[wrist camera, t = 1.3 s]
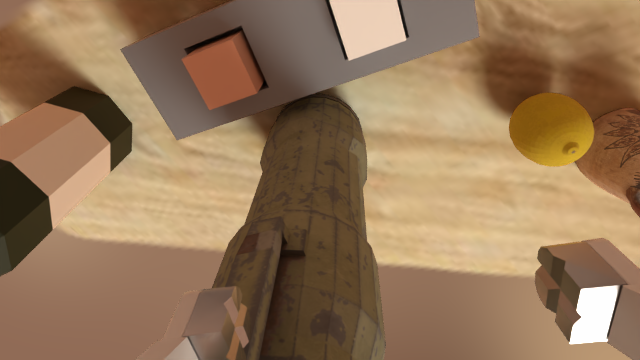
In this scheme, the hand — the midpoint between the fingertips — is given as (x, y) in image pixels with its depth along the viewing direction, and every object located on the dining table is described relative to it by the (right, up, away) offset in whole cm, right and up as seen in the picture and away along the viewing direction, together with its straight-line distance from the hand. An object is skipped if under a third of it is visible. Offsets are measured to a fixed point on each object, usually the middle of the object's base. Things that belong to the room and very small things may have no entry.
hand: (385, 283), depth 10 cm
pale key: (+2, +15, +17) cm, 23 cm away
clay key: (-9, +12, +20) cm, 25 cm away
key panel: (-3, +15, +21) cm, 26 cm away
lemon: (+17, +9, +24) cm, 31 cm away
